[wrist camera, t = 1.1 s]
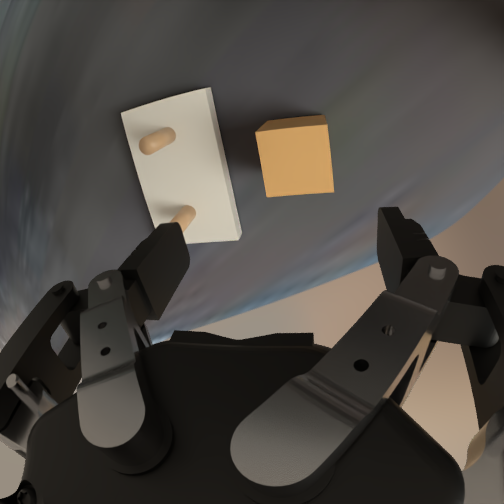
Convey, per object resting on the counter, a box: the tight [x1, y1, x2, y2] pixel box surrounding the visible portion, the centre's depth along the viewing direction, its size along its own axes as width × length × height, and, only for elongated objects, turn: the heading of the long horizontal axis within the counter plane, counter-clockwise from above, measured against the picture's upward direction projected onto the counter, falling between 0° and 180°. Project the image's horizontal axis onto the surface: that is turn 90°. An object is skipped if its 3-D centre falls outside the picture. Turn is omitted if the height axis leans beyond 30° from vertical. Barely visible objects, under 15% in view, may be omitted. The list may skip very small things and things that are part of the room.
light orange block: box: [255, 115, 334, 197], centre depth 23 cm, size 5×5×6 cm
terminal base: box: [121, 87, 242, 244], centre depth 27 cm, size 9×15×6 cm, turn 10°
